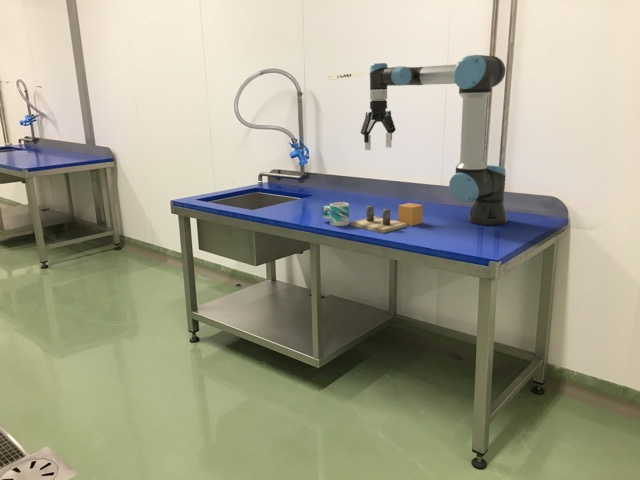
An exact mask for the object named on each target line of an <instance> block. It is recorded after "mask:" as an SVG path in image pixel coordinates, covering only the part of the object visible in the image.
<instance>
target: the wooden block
mask: <svg viewBox="0 0 640 480" xmlns="http://www.w3.org/2000/svg"><path fill="white" fill-rule="evenodd" d="M423 212H424V205H423V204H420V203H419V204H418V203H412V202H407V203H403V204H398V214H397V215H398V220H397V221H399V222H404V223H407V226H410V227H413V226H416V225H420V224H423V221H424V220H423V217H424V215H423V214H424V213H423Z"/></svg>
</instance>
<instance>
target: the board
mask: <svg viewBox="0 0 640 480" xmlns="http://www.w3.org/2000/svg"><path fill="white" fill-rule="evenodd" d="M349 224H350V226H351V227H356V228H358V229H359V228H360V229H364V230H368V231H372V232H376V233H381V234H385V233H389V232H392V231H396V230H399V229H403V228H406V227H407V226H408V225H407V223H404V222H399V221H398V220H393V219H391V209H390V208H383V209H382V217H378V216H375V205H374V206H373V205H366V217H365V218H361V219H356V220H353V221H349Z"/></svg>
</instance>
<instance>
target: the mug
mask: <svg viewBox="0 0 640 480" xmlns="http://www.w3.org/2000/svg"><path fill="white" fill-rule="evenodd" d="M321 213H322V215H321V216H322V217H321V218H322V219H327V220H330V221H329V224H330V226H334V227H335V226H336V227H342V226H347V225H349V224H350V205H349V203H348V202H344V201H343V202H341V201H338V202H331V203H329V205H324V206H322V207H321Z"/></svg>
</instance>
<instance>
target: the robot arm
mask: <svg viewBox="0 0 640 480" xmlns="http://www.w3.org/2000/svg"><path fill="white" fill-rule="evenodd" d="M505 75H506V65H505V64H504V61H503V60H502V59H500V58H499V56H495V55H485V54H483V55H482V54H472V55H467V56H464V57H462V58H461V59H460V60H459V61H458V62H457V63H456V64H445V65H444V64H443V65H442V64H441V65H431V66H430V65H429V66H416V67H415V66H400V65H399V66H393V67H388V64H387V63H386V62H378V63H377V62H376V63H371V64H370V67H369V83H370V84H369V96H370V97H369V99H370V101H369V109H370V110H371V111H366V112H365V116H364V117H365V118H364V121H363V124H362V127H361V130H360V134H361V135H363V136H364V139H363V140H364V141H363V142H364V150H365V151H371V149H372V147H371V146H372V145H371V143H372V141H371V138H372V137H371V135H370V133H371V132H372V130H373V128H374V126H375V124H376V123H381V124H382V125H383V127H384V129H385V131H386V132H385V148H390V149H391V148H392V140H393V134H394V133H395V132H396V126H395V123H394V120H393V117H392V111H391V110H387V109H388V100H387V99H388V86H389V87H391V86H423V85H424V86H425V85H426V86H427V85H430V86H431V85H454V84H456V86H457V87H458V94H459V96H460V97H461V98H462V109H461V113H462V114H461V131H460V154H459V155H460V156H459V157H460V158H459V163H457V165H455V172H454V173H455V174H453V175H452V177H450V179H449V184H448V187H449V192H450V194H451V195H452V197H454V199H455V200H457V201H458V202H461V203H473V204H472V207H471V209H470V211H469V213H468V221H469V222H470V223H473V224H477V225H484V226H497V225H498V226H499V225H504V224H506V223H507V222H508V215H507V211H506V207H505V203H504V201H505V188H506V186H505V185H506V177H507V175H506V168H505V167H504V166H499V165H489V164H488V165H487V164H485V162H484V153H485V151H484V149H485V135H486V134H485V133H486V117H487V116H486V115H487V101H488V100H487V98H488V97H489V96H490V95H491V94H492V88H494V87H496V86H498V85H499V84H500V83H501V82H503V80H504V78H505Z"/></svg>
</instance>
